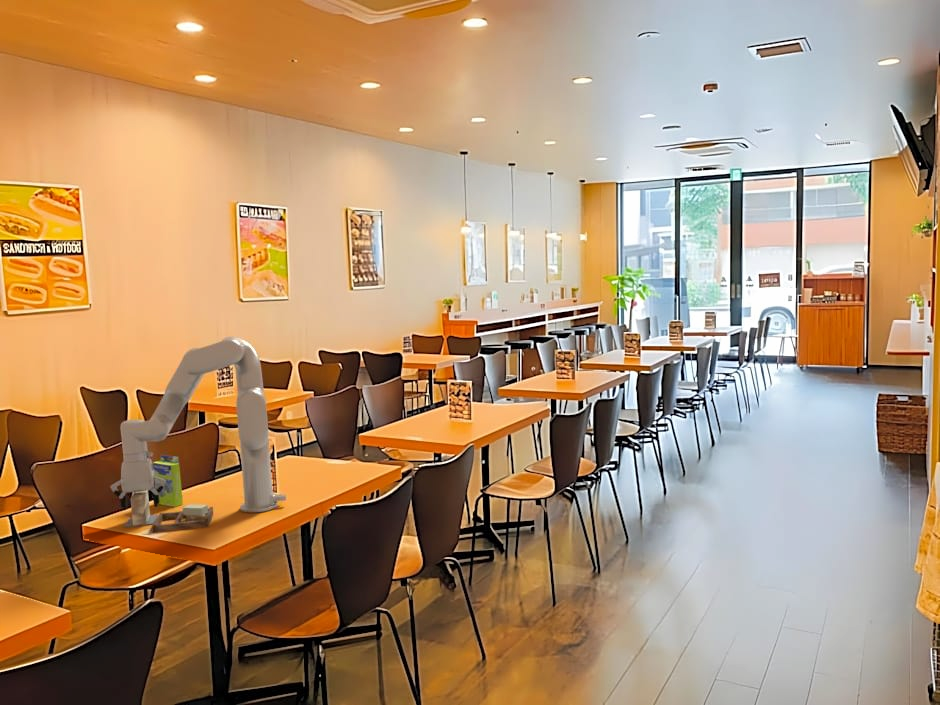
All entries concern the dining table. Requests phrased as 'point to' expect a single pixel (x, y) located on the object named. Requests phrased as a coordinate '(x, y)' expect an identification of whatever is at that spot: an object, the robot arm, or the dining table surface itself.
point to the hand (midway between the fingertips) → (140, 507)
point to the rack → (178, 524)
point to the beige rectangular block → (140, 507)
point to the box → (169, 481)
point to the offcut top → (195, 510)
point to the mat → (149, 522)
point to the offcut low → (195, 517)
